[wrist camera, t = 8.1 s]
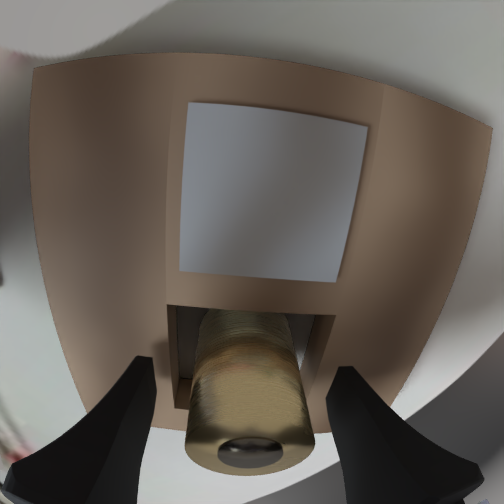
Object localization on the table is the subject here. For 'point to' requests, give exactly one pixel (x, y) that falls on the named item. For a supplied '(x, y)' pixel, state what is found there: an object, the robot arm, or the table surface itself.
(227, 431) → the brass bushing
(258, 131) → the jig plate
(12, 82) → the table surface
